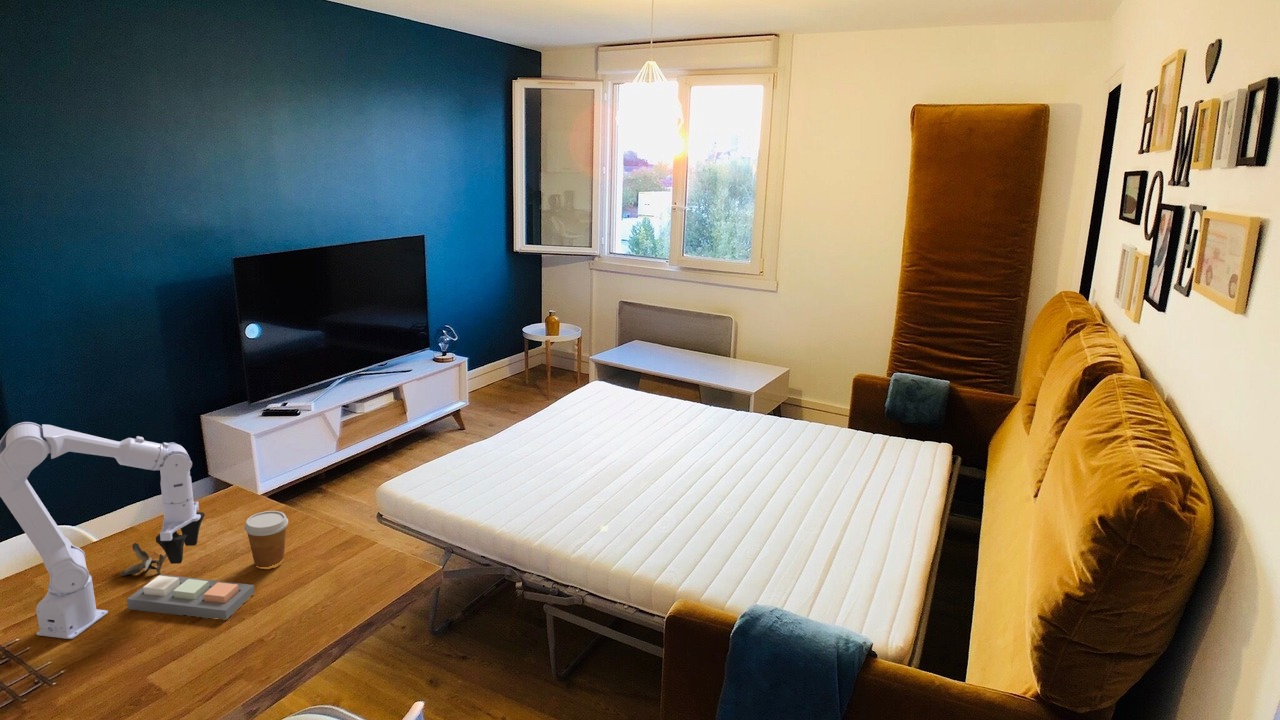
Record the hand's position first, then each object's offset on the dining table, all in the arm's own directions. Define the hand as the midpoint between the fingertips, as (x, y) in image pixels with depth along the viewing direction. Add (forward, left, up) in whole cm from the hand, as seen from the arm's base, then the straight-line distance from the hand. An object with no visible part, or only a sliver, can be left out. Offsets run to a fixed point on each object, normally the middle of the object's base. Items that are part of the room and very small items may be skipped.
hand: (183, 553), depth 165 cm
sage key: (-3, -4, -8) cm, 10 cm away
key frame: (-4, -4, -10) cm, 11 cm away
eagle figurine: (+5, +15, -10) cm, 19 cm away
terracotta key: (-4, -11, -8) cm, 14 cm away
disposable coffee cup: (+14, -11, -10) cm, 20 cm away
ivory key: (-3, +3, -8) cm, 9 cm away
